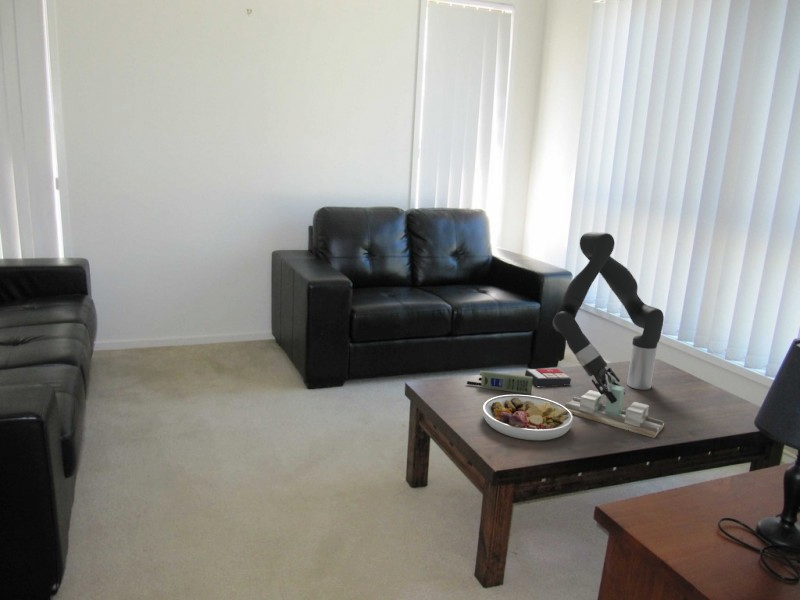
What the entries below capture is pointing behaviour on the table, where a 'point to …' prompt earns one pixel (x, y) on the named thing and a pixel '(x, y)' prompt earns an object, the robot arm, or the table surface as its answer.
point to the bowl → (527, 417)
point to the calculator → (547, 377)
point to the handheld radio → (504, 382)
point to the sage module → (616, 406)
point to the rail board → (628, 419)
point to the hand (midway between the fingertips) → (618, 398)
